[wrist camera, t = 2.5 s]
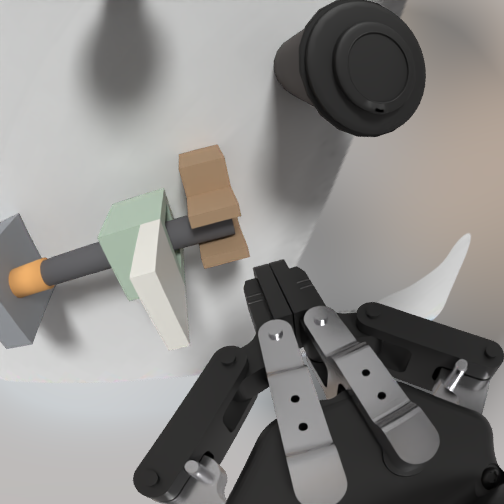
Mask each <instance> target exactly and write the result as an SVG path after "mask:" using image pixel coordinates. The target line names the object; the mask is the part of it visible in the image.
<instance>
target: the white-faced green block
mask: <svg viewBox="0 0 504 504" xmlns="http://www.w3.org/2000/svg"><path fill="white" fill-rule="evenodd" d="M173 219H174V218H173V215H172V212H171V209H170V206H169V203H168V200H167V196H166V193H165V190H164V188H163V189H160V190H156V191H153V192H150V193H146V194H143V195H140V196H137V197H134V198H130V199H127V200H124V201H121V202H118V203H115V204H113V205H112V207H111V209H110V211H109V213H108V216H107V218H106V220H105V222H104V224H103V227H102V229H101V231H100V233H99V236H98V240H99V242H100V245H101V247H102V249H103V251H104V253H105V255H106V257H107V259H108V261H109V263H110V265H111V267H112V269H113V271H114V273H115V275H116V277H117V279H118V281H119V283H120V285H121V287H122V289H123V291H124V293H125V294H126V296H127V298H128V300H129V301H132V300H136V299H140V300H141V302H142V304H143V306H144V308H145V309H146V311H147V313H148V315H149V317H150V319H151V321H152V322H153V324H154V326H155V328H156V329H157V331H158V333H159V335H160V336H161V338H162V340H163V342H164V343H165V345H166V347H167V348H168V350H169V351H170V350H174V349H179V348H183V347H187V346H190V338H189V327H188V316H187V303H186V289H185V274H184V256H183V248H181V249H177V250H174V249H173V246H172V244H171V241H170V238H169V235H168V232H167V229H166V227H165V222H166V221H170V220H173Z"/></svg>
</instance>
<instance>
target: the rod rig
mask: <svg viewBox="0 0 504 504" xmlns="http://www.w3.org/2000/svg"><path fill="white" fill-rule="evenodd" d="M179 172H180V175H181V179H182V182H183V186H184V189H185V193H186V196H187V207H188V215H187V216H184V217H180V218H177V219H173V220H170V221H166V222H165V227H166V229H167V232H168V235H169V238H170V241H171V244H172V246H173V249H174V250H177V249H181V248H185V247H188V246H192V245H196V244H199V246H200V253H201V260H202V263H203V266H204V269H206V268H210V267H214V266H217V265H221V264H225V263H229V262H232V261H236V260H240V259H243V258H247V257H250V255H249V251H248V246H247V244H246V241H245V239H244V236H243V234H242V231H241V229H240V226H239V222H238V218H237V217H239V216H241V213H240V208H239V204H238V201H237V199H236V197H235V195H234V193H233V190H232V188H231V186H230V181H229V176H228V172H227V167H226V163H225V158H224V156H223V154H222V152H221V150H220V148H219V146H218V145H213V146H209V147H205V148H201V149H197V150H194V151H190V152H186V153H182V154H179ZM110 268H112V267H111V265H110V263H109V261H108V259H107V257H106V255H105V253H104V251H103V249H102V247H101V245H100V242H97V243H94V244H91V245H88V246H84V247H81V248H78V249H75V250H72V251H69V252H67V253H64V254H61V255H58V256H55V257H52V258H49V259H47V258H41V256H40V255H39V253H38V251H37V249H36V247H35V245H34V243H33V241H32V239H31V237H30V235H29V233H28V231H27V229H26V227H25V225H24V223H23V221H22V219H21V217H20V214H16V215H14V216H12V217H10V218H8V219H6V220H4V221H2V222H0V342H1V343H2V344H3V345H4V346H5V348H6V349H9V348H15V347H20V346H26V345H31V344H33V341H34V338H35V335H36V333H37V330H38V327H39V324H40V322H41V319H42V317H43V314H44V311H45V309H46V306H47V304H48V302H49V299H50V297H51V294H52V292H53V290H54V287H55V285H56V284H59V283H62V282H66V281H69V280H72V279H76V278H79V277H83V276H86V275H89V274H93V273H96V272H100V271H103V270H106V269H110Z"/></svg>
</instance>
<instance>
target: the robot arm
mask: <svg viewBox="0 0 504 504" xmlns="http://www.w3.org/2000/svg"><path fill="white" fill-rule="evenodd" d="M253 271H254V276H255V278H254V279H251V280H247V281H245V285H244V293H245V297H246V301H247V305H248V309H249V313H250V316H251V319H252V322H253V325H254V328H255V331H256V335H255V337H254V339H253V340H252V341H251V342H250V343H249V344H247V345H245V346H244V347H242V348H239V347H236V346H227V347H223V348H221V349H219V350H218V351H217V352H216V353H215V354H214V355H213V357H212V358H211V360H210V361H209V363H208V364H207V366H206V367H205V369H204V370H203V372H202V373H201V375H200V376H199V378H198V379H197V381H196V382H195V384H194V386H193V387H192V388H191V390H190V391H189V393H188V394H187V396H186V397H185V399H184V400H183V402H182V404H181V405H180V406H179V408H178V409H177V411H176V412H175V414H174V415H173V417H172V418H171V420H170V421H169V423H168V424H167V426H166V427H165V429H164V430H163V432H162V433H161V434H160V436H159V437H158V439H157V440H156V442H155V443H154V445H153V446H152V448H151V449H150V450H149V452H148V453H147V455H146V456H145V458H144V459H143V460H142V462H141V463H140V465H139V466H138V468H137V469H136V471H135V473H134V477H133V481H134V485H135V487H136V489H137V490H138V492H140V493H141V494H142V495H144V496H146V497H149V498H151V499H152V500H154V501H156V502H159V503H162V504H504V471H503V470H502V469H501V468H500V467H499V466H498V464H497V461H496V457H495V453H494V445H493V433H492V428H491V426H490V424H489V422H488V420H487V419H486V418H485V417H484V416H483V415H482V412H483V408H484V404H485V400H486V396H487V392H488V387H489V383H490V379H491V378H492V376H493V375H494V374H495V372H496V371H497V369H498V368H499V367H500V365H501V364H502V362H503V359H504V353H503V350H502V348H501V347H500V345H499V344H497V343H496V342H494V341H491V340H488V339H485V338H482V337H479V336H476V335H473V334H470V333H467V332H464V331H461V330H458V329H455V328H452V327H448V326H446V325H442V324H440V323H436V322H433V321H430V320H427V319H424V318H421V317H418V316H415V315H412V314H409V313H406V312H403V311H400V310H397V309H394V308H391V307H388V306H385V305H382V304H379V303H375V302H370V303H365V304H363V305H361V306H360V307H359V308H358V310H357V313H346V314H342V313H336V312H335V311H334V310H333V309H331V308H329V307H326V305H325V304H324V302H323V300H322V299H321V297H320V295H319V294H318V292H317V290H316V289H315V287H314V286H313V284H312V283H311V281H310V280H309V278H308V276H307V274H306V273H305V272H304V271H303V270H302V269H300V268H298V267H293V268H290V269H289V268H288V266H287V264H286V262H285V261H284V259H283V260H279V261H275V262H272V263H269V264H265V265H261V266H257V267H254V268H253ZM302 347H304V349H305V352H306V359H307V362H308V364H309V366H310V367H311V369H312V371H313V373H314V375H315V376H316V378H317V380H318V382H319V383H320V385H321V387H322V389H323V390H324V393H325V395H326V399H327V400H320V401H319V399H318V396H317V393H316V390H315V387H314V384H313V381H312V379H311V375H310V372H309V369H308V367H307V365H305V364H304V362H303V359H302V356H301V353H300V350H299V348H302ZM393 377H394V378H397V379H400V380H402V381H405V382H408V383H410V384H413V385H416V386H419V387H421V388H424V389H427V390H430V391H432V392H433V395H431V394H429V393H426V392H424V391H422V390H419V389H416V388H414V387H412V386H409V385H407V384H404V383H402V382H398V381H395V379H394V378H393ZM269 386H270V391H271V395H272V399H273V404H274V408H275V412H276V416H277V419H275V420H274V421H273V422H271V423H270V424H269V425H268V426H267V427H266V428H265V429H264V430H263V431H262V433H261V434H260V436H259V437H258V439H257V441H256V443H255V445H254V447H253V449H252V451H251V454H250V456H249V458H248V460H247V462H246V464H245V466H244V468H243V470H242V472H241V474H240V476H239V478H238V480H237V482H236V484H235V486H234V488H233V490H232V492H231V493H230V495H229V497H228V499H227V500H226V498H225V495H224V489H225V486H226V483H227V474H226V472H225V470H224V469H223V468H222V467H221V466H220V463H221V462H222V460H223V458H224V457H225V455H226V453H227V451H228V450H229V448H230V446H231V444H232V443H233V441H234V439H235V437H236V435H237V434H238V432H239V430H240V428H241V426H242V424H243V422H244V421H245V419H246V417H247V415H248V413H249V412H250V410H251V408H252V406H253V404H254V402H255V400H256V398H257V395H258V393H260V392H262V391H263V390H264V389H266V388H268V387H269Z"/></svg>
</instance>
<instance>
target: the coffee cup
mask: <svg viewBox="0 0 504 504" xmlns="http://www.w3.org/2000/svg"><path fill="white" fill-rule="evenodd" d="M274 71H275V74H276V77H277V79H278V81H279V83H280V84H281V85H282V86H283V88H284V89H285V90H287V91H288V92H289V93H291V94H292V95H294V96H296V97H298V98H300V99H302V100H303V101H305V102H307V103H309V104H311V105H312V106H314V107H315V108H316V109H317V111H318V112H319V114H320V115H321V116H322V117H323V118H325V119H326V120H327V121H329V122H330V123H331V124H332V125H333V126H335V127H336V128H337V129H339V130H341V131H344V132H347V133H349V134H352V135H355V136H358V137H359V136H360V137H361V136H362V137H377V136H380V135H383V134H386V133H389V132H392V131H394V130H395V129H397V128H398V127H400V126H401V125H403V124H404V123H405V122H406V121H407V120H409V118H410V117H411V116H412V115H413V114H414V112H415V110H416V109H417V107H418V106H419V104H420V101H421V99H422V96H423V92H424V88H425V78H426V74H425V63H424V58H423V54H422V51H421V48H420V46H419V44H418V41H417V39H416V38H415V36H414V34H413V33H412V31H411V30H410V29H409V27H408V26H407V25H406V24H405V23H404V22H403V21H402V20H401V19H400V18H399V17H398V16H397V15H395V14H394V13H393V12H391V11H389V10H388V9H386V8H384V7H383V6H381V5H379V4H378V3H374V2H371V1H367V0H336V1H334V2H332V3H331V4H329V5H327V6H325V7H323V8H321V9H319V10H318V11H317V13H316V14H315V15H314V16H313V17H312V19H311V20H310V21H309V22H308V23H307V25H306V26H305V29H303V30H302V31H300V32H299V33H297V34H296V35H294V36H293V37H292V38H290V39H289V40H287V41H286V42H284V43H283V44H282V46H281V47H280V48H279V49H278V51H277V53H276V56H275V60H274Z"/></svg>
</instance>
